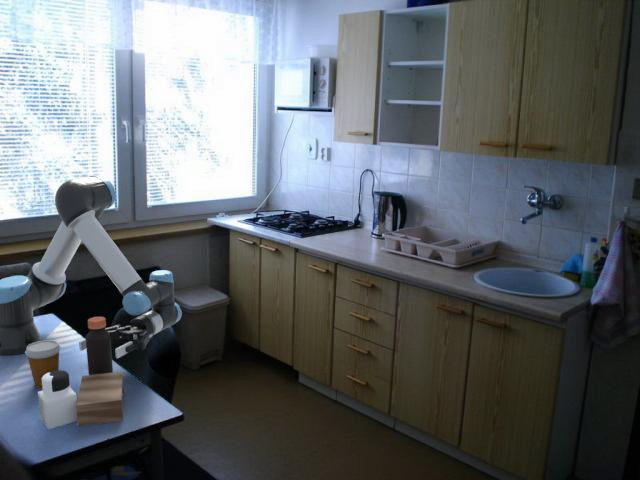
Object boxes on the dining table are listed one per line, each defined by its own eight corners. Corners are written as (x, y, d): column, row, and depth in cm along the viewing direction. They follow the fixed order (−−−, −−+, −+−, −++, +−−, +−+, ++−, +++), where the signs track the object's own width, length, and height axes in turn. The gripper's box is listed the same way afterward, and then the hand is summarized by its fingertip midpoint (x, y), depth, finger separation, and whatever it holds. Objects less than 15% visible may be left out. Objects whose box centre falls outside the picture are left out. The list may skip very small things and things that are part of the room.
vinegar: (116, 384, 184) (112, 320, 179) (93, 390, 180) (88, 325, 175) (109, 376, 189) (104, 313, 185) (86, 381, 185) (81, 318, 181)
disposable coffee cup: (50, 392, 178) (47, 353, 176) (21, 389, 180) (17, 350, 178) (70, 378, 188) (66, 340, 185) (42, 375, 189) (38, 338, 187)
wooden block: (83, 395, 177) (82, 375, 175) (124, 390, 180) (122, 371, 178) (78, 426, 160) (76, 405, 159) (122, 420, 163) (121, 399, 162)
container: (69, 409, 169) (65, 365, 166) (79, 420, 163) (75, 374, 160) (39, 418, 164) (35, 372, 161) (48, 430, 158) (43, 383, 155)
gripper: (177, 343, 196) (133, 369, 177) (115, 331, 206) (66, 354, 187) (176, 320, 195) (131, 344, 176) (114, 309, 204) (64, 331, 185)
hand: (98, 349), depth 181 cm, fingers open, 13 cm apart
